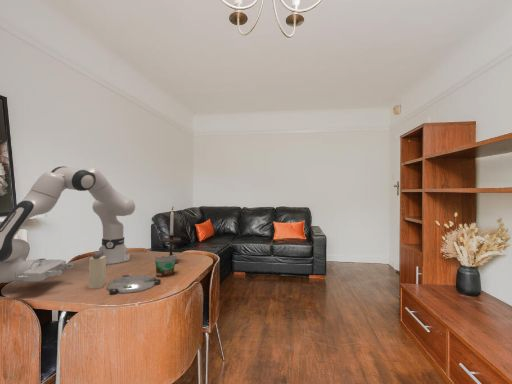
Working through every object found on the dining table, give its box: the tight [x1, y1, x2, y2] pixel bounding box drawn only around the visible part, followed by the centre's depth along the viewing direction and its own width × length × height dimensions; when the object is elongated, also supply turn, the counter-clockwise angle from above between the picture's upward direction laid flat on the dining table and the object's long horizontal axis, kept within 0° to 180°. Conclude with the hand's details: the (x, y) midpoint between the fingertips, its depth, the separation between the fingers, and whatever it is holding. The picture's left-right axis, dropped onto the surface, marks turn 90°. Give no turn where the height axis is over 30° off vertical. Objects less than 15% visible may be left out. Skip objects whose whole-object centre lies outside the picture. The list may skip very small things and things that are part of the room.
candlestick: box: [161, 206, 181, 265], centre depth 158 cm, size 11×11×35 cm
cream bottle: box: [88, 250, 107, 290], centre depth 115 cm, size 6×5×15 cm
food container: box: [153, 252, 178, 278], centre depth 133 cm, size 12×6×10 cm, turn 148°
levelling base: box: [107, 274, 162, 296], centre depth 118 cm, size 21×22×2 cm
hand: (67, 269), depth 113 cm, fingers open, 8 cm apart
